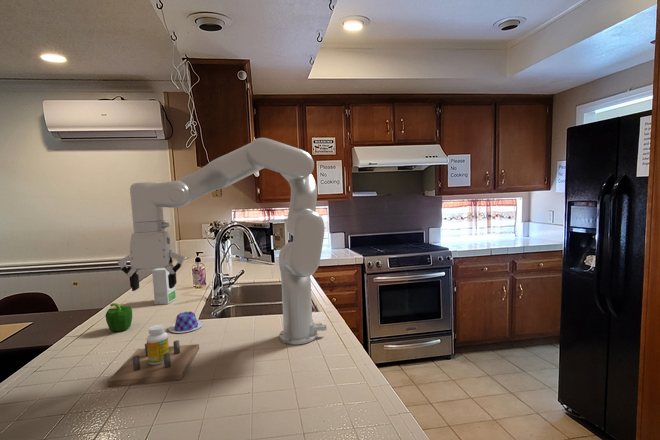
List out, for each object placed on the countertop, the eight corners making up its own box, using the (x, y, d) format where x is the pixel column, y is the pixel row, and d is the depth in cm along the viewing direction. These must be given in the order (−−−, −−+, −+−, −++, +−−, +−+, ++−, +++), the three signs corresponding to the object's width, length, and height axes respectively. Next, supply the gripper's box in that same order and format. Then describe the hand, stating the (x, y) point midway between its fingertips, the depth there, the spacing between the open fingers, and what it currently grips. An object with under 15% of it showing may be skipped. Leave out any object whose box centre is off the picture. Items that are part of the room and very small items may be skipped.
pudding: (193, 335, 119) (192, 320, 119) (161, 334, 121) (160, 319, 121) (209, 321, 131) (209, 308, 131) (180, 321, 133) (179, 308, 132)
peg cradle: (199, 348, 108) (198, 333, 108) (181, 379, 90) (180, 361, 90) (138, 353, 106) (137, 338, 105) (108, 386, 88) (106, 367, 88)
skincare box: (168, 304, 153) (165, 269, 152) (153, 304, 153) (150, 270, 152) (176, 298, 161) (174, 265, 160) (162, 298, 161) (160, 266, 160)
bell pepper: (139, 325, 130) (137, 299, 129) (124, 334, 121) (121, 306, 121) (118, 324, 130) (116, 299, 130) (101, 334, 122) (99, 306, 121)
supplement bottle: (160, 366, 95) (158, 331, 94) (143, 364, 96) (141, 330, 95) (173, 356, 100) (171, 324, 99) (157, 355, 101) (155, 323, 100)
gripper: (185, 224, 100) (190, 282, 101) (122, 227, 98) (127, 286, 99) (177, 227, 92) (182, 290, 94) (108, 230, 90) (114, 294, 92)
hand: (154, 288), depth 96 cm, fingers open, 9 cm apart
